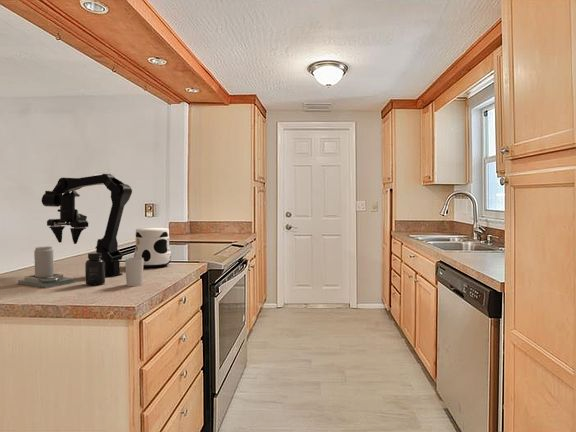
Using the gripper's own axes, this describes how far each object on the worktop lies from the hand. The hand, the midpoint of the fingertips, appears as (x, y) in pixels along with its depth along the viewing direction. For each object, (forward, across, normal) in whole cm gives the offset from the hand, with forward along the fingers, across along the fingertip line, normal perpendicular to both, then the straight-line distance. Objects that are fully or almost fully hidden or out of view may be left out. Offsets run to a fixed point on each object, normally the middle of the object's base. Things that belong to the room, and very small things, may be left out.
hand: (67, 243), depth 184 cm
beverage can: (+12, -7, +16) cm, 22 cm away
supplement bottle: (+13, -28, +11) cm, 33 cm away
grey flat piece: (+13, -10, +18) cm, 24 cm away
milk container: (+13, -19, -32) cm, 39 cm away
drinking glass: (+13, -43, +5) cm, 45 cm away
